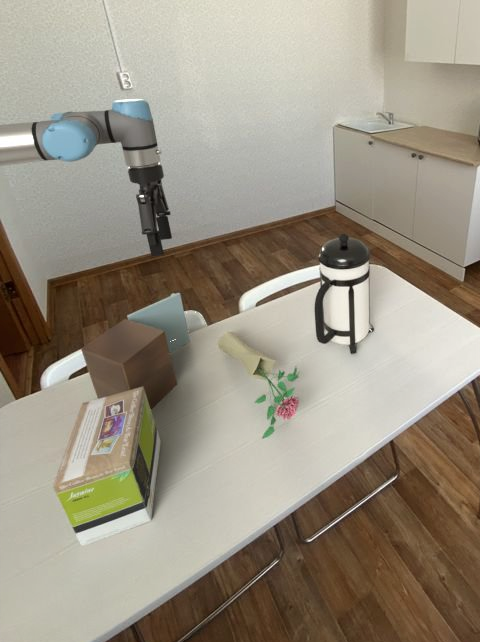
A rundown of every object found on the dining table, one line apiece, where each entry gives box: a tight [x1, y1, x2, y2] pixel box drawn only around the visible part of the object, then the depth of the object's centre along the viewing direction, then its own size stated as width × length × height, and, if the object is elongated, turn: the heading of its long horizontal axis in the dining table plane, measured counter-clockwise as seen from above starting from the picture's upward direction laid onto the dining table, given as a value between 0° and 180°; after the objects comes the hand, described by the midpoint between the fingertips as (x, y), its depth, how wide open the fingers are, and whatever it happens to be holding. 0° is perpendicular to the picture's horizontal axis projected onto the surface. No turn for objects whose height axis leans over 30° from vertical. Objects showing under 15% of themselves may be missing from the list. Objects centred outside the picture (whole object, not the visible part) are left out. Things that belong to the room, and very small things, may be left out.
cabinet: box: [80, 318, 178, 410], centre depth 83 cm, size 10×12×15 cm
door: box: [126, 292, 191, 353], centre depth 94 cm, size 3×12×15 cm, turn 139°
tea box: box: [52, 386, 162, 547], centre depth 64 cm, size 15×10×15 cm, turn 21°
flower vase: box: [217, 331, 301, 439], centre depth 84 cm, size 12×12×35 cm
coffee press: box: [314, 233, 375, 355], centre depth 96 cm, size 17×16×30 cm
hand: (162, 246), depth 101 cm, fingers open, 9 cm apart
